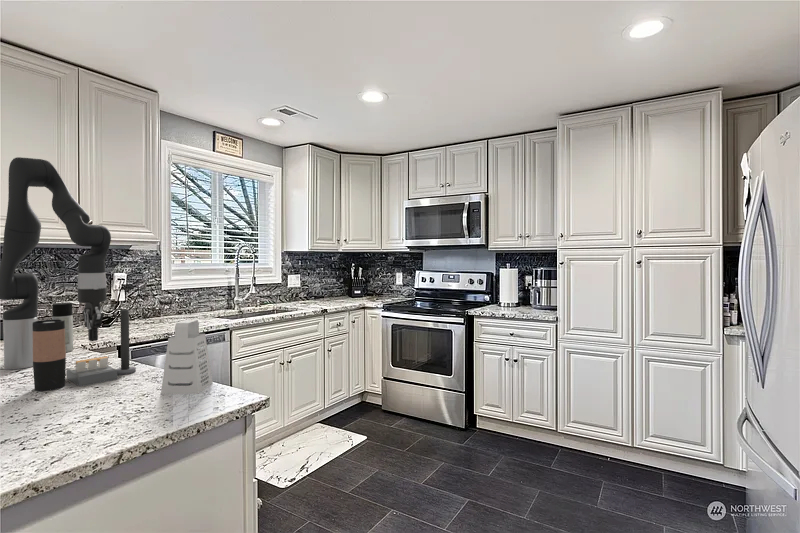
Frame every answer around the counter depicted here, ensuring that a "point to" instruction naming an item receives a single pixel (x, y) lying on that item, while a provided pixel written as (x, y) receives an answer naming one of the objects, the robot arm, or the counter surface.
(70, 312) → the spray can
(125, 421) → the counter surface
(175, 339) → the grater
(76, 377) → the breaker panel
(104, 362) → the breaker paddles
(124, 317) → the stand
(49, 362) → the travel mug
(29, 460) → the counter surface
